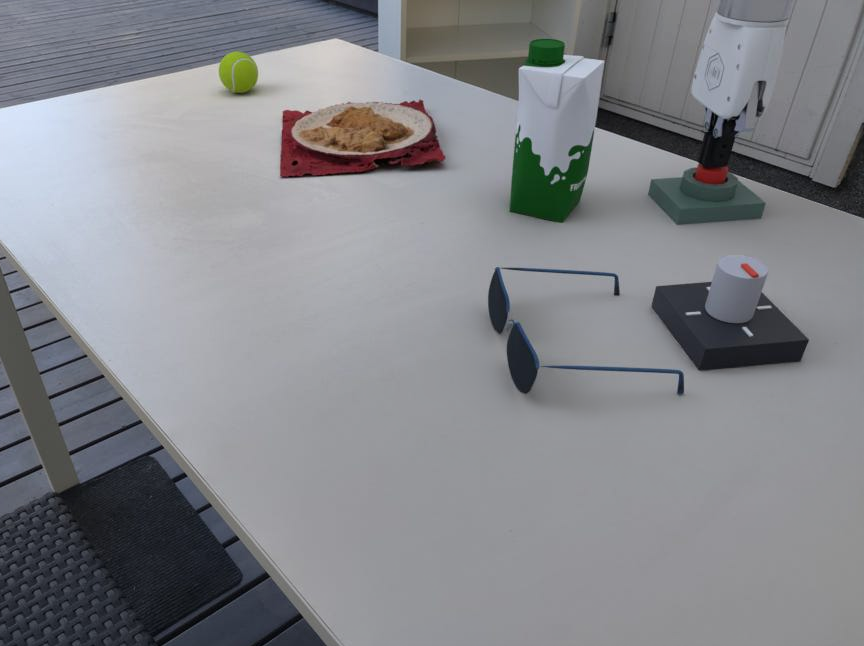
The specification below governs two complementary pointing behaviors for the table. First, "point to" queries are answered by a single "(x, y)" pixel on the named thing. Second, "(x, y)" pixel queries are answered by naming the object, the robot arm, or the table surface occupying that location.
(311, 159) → the plate with food
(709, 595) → the table surface
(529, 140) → the milk carton
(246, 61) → the tennis ball
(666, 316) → the dial panel
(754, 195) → the green button base
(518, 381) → the sunglasses
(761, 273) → the temp dial
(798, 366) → the table surface
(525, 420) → the table surface
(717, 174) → the power button
